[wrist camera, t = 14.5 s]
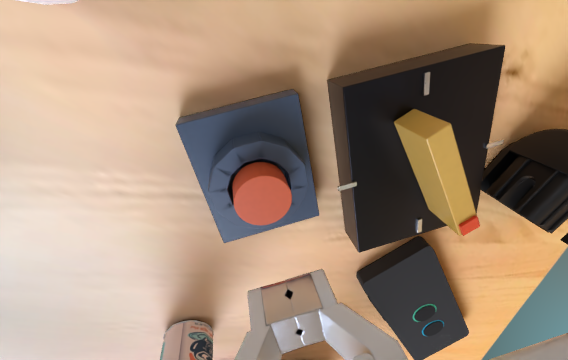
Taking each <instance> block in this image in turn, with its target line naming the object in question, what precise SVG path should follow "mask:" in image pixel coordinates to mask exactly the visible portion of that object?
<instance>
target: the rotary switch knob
mask: <svg viewBox="0 0 568 360" xmlns="http://www.w3.org/2000/svg"><path fill="white" fill-rule="evenodd" d="M394 124H395V126H396V129H397V131H398V134H399V136H400V139H401V141H402V144H403V146H404V149H405V151H406V154H407V156H408V159H409V161H410V164H411V166H412V169H413V171H414V174H415V176H416V179H417V181H418V183H419V186H420V188H421V191H422V193H423V196H424V198H425V201H426V203H427V206H428V208H429V210H430V211H431V212H432V213H434V214H435V215H436V216H437V217H438V218H439V219H441V220H442V221H443V222H444V223H445V224H446V225H448V226H449V227H450V228H451V229H452V230H453V231H455V232H456V233H457V234H458V235H459V236H461V235H463V236H464V235H466V234H467V233H469V232H471V231H473V230H474V229H476V228H478V227H479V226H480V224H479V220H478V217H477V214H476V211H475V207H474V204H473V200H472V197H471V193H470V190H469V186H468V182H467V179H466V175H465V172H464V168H463V165H462V161H461V158H460V154H459V150H458V147H457V143H456V140H455V136H454V133H453V129H452V126H451V124H450V123H448V122H446V121H443V120H441V119H438V118H436V117H433V116H431V115H428V114H426V113H424V112H421V111H419V110H416V109H413V110H411V111H410V112H408V113H407V114H405V115H404V116H402V117H400V118H399V119H397V120H396V121H394Z"/></svg>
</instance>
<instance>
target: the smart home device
mask: <svg viewBox="0 0 568 360" xmlns="http://www.w3.org/2000/svg"><path fill="white" fill-rule="evenodd" d="M357 278H358V280H359V282H360V284H361V286H362V288H363V289H364V291H365V293H366V294H367V295H368V298H369V300H370V301H371V302H372V304H373V305H374V307H375V308H376V309H377V311H378V312H379V313H380V315H381V316H382V318H383V319H384V320H385V321H386V322H387V323H388V324H389V326H390V327H391V328H392V330H393V331H394V333H395V334H396V335H397V337H398V338H399V339H400V341H401V342H402V344H403V345H404V346H405V348H406V349H407V351H408V352H409V353H410V355H411V356H412V357H413V359H414V360H423V359H425V358H427V357H429V356H430V355H432V354H434V353H436V352H438V351H440V350H441V349H443V348H445V347H447V346H449V345H451V344H453V343H454V342H456V341H458V340H460V339H462V338H464V337H466V336H467V335H468V333H469V330H468V328H467V326H466V323H465V321H464V319H463V316H462V314H461V312H460V309H459V307H458V305H457V302H456V300H455V298H454V295H453V293H452V291H451V288H450V286H449V284H448V282H447V279H446V277H445V275H444V272H443V270H442V268H441V265H440V263H439V261H438V258H437V256H436V254H435V251H434V250H433V248H432V247H431V246H430V245H429V244H428V243H427V242H426V241H425V240H424V239H423V238H422V237H420V236H418V237H416V238H414V239H413V240H411V241H409V242H407V243H406V244H404V245H402V246H401V247H399V248H397V249H396V250H394V251H392V252H391V253H389V254H387V255H385V256H384V257H382V258H380V259H379V260H377V261H375V262H374V263H372V264H370V265H368V266H367V267H365V268H363V269H362V270H360V271H358V272H357Z"/></svg>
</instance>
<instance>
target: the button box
mask: <svg viewBox="0 0 568 360" xmlns="http://www.w3.org/2000/svg"><path fill="white" fill-rule="evenodd" d="M176 128H177V130H178V133H179V135H180V138H181V140H182V142H183V145H184V147H185V150H186V152H187V155H188V157H189V159H190V162H191V164H192V167H193V169H194V172H195V174H196V176H197V179H198V181H199V184H200V186H201V189H202V191H203V193H204V196H205V198H206V201H207V203H208V206H209V208H210V210H211V213H212V215H213V218H214V220H215V223H216V225H217V227H218V230H219V232H220V235H221V237H222V240H223V242H224V243H226V242H230V241H233V240H237V239H240V238H244V237H247V236H250V235H254V234H257V233H261V232H264V231H267V230H271V229H274V228H278V227H281V226H285V225H288V224H291V223H295V222H298V221H302V220H305V219H309V218H312V217H315V216H319V210H318V204H317V199H316V193H315V187H314V181H313V176H312V170H311V164H310V158H309V153H308V147H307V141H306V136H305V130H304V124H303V118H302V113H301V107H300V101H299V95H298V93H297V92H295V91H294V90H293V89H290V90H286V91H282V92H278V93H274V94H270V95H266V96H262V97H259V98H255V99H251V100H247V101H243V102H239V103H235V104H231V105H227V106H223V107H219V108H215V109H212V110H208V111H204V112H200V113H196V114H192V115H188V116H184V117H180V118H179V119H178V121H177V123H176ZM254 162H267V163H271V164H273V165H275V166H277V167H278V168H279V169H280V170H281V171H282V173H283V174H284V176H285V179H286V181H287V183H288V186H289V188H290V190H291V193H292V202H291V206H290V208H289V210H288V212H287V213H286V214H285V215H284V216H283V217H282V218H281V219H280V220H278V221H276V222H274V223H272V224H268V225H253V224H250V223H247V222H245V221H244V220H242V219H241V218H240V217H239V216H238V214H237V213H236V211H235V208H234V201H233V188H232V187H233V181H234V178H235V176H236V174H237V173H238V172H239V171H240V170H241V169H242V168H243V167H245V166H246V165H248V164H251V163H254Z"/></svg>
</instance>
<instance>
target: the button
mask: <svg viewBox="0 0 568 360" xmlns="http://www.w3.org/2000/svg"><path fill="white" fill-rule="evenodd" d="M232 188H233V201H234V208H235V211H236V213H237V214H238V216H239V217H240V218H241V219H242V220H244V221H245V222H247V223H250V224H253V225H268V224H272V223H274V222H276V221H278V220H280V219H281V218H282V217H283V216H284V215H285V214H286V213H287V212H288V210H289V208H290V206H291V202H292V193H291V190H290V188H289V186H288V183H287V181H286V179H285V176H284V174H283V173H282V171H281V170H280V169H279V168H278V167H277V166H275V165H273V164H271V163H267V162H254V163H251V164H248V165H246V166H245V167H243V168H242V169H241V170H240V171H239V172H238V173H237V174H236V176H235V178H234V181H233V187H232Z"/></svg>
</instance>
